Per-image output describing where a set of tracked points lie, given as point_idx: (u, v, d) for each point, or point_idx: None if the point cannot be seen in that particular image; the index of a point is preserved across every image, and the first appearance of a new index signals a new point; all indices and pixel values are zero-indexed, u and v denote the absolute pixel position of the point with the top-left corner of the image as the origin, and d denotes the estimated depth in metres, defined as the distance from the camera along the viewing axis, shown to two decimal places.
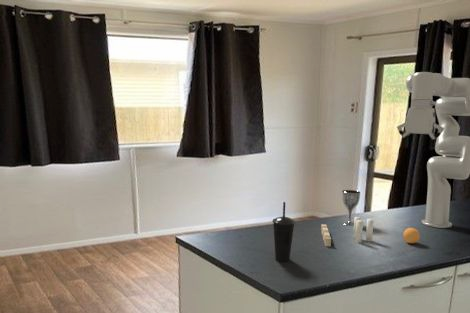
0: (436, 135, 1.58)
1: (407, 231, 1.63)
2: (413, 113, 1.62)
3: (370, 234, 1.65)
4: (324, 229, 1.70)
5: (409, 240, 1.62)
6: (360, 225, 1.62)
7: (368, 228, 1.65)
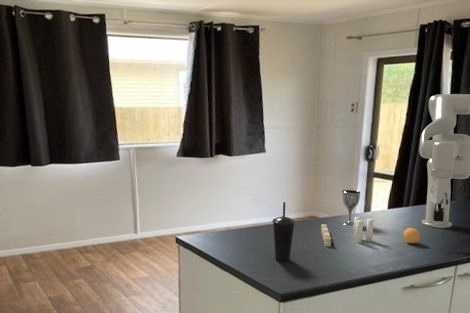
0: None
1: (407, 231, 1.63)
2: None
3: (370, 234, 1.65)
4: (324, 229, 1.70)
5: (409, 240, 1.62)
6: (360, 225, 1.62)
7: (368, 228, 1.65)
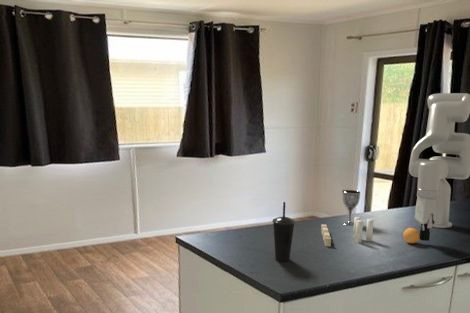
0: None
1: (407, 231, 1.63)
2: None
3: (370, 234, 1.65)
4: (324, 229, 1.70)
5: (409, 240, 1.62)
6: (360, 225, 1.62)
7: (368, 228, 1.65)
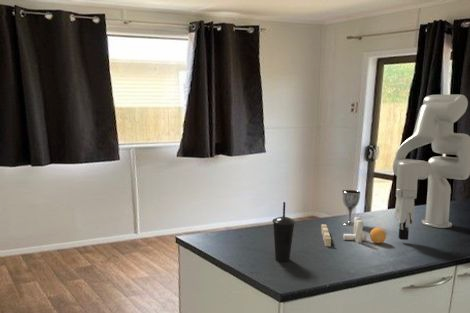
0: None
1: (385, 236, 1.62)
2: None
3: None
4: (324, 229, 1.70)
5: (379, 235, 1.60)
6: (360, 225, 1.62)
7: (352, 239, 1.66)
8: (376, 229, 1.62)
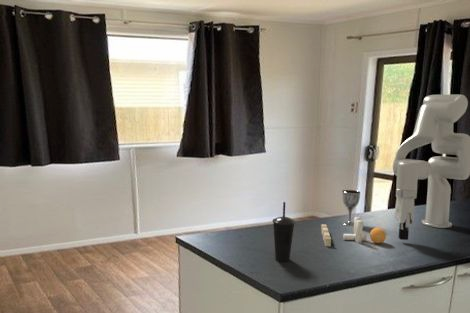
0: None
1: (385, 236, 1.62)
2: None
3: None
4: (324, 229, 1.70)
5: (379, 235, 1.60)
6: (360, 225, 1.62)
7: (352, 239, 1.66)
8: (376, 229, 1.62)
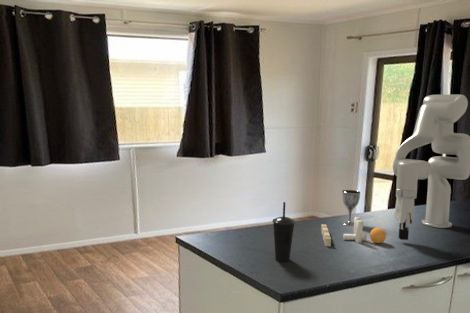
0: None
1: (385, 236, 1.62)
2: None
3: None
4: (324, 229, 1.70)
5: (379, 235, 1.60)
6: (360, 225, 1.62)
7: (352, 239, 1.66)
8: (376, 229, 1.62)
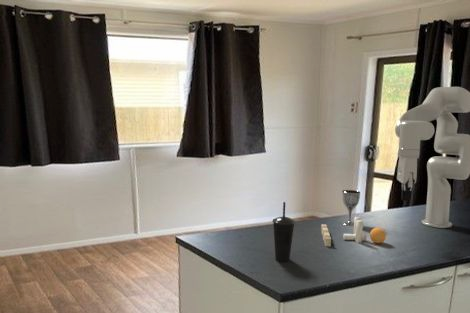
0: None
1: (385, 236, 1.62)
2: None
3: None
4: (324, 229, 1.70)
5: (379, 235, 1.60)
6: (360, 225, 1.62)
7: (352, 239, 1.66)
8: (376, 229, 1.62)
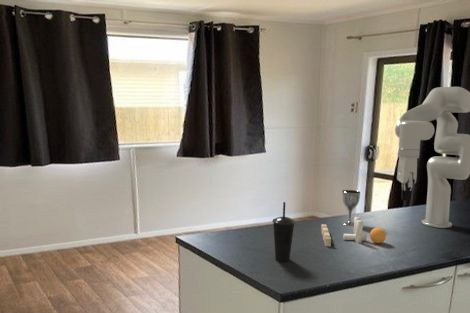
0: None
1: (385, 236, 1.62)
2: None
3: None
4: (324, 229, 1.70)
5: (379, 235, 1.60)
6: (360, 225, 1.62)
7: (352, 239, 1.66)
8: (376, 229, 1.62)
